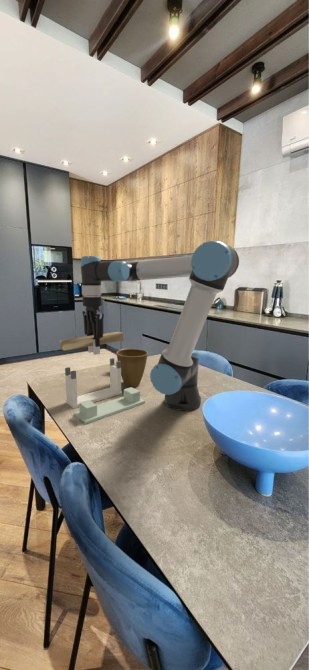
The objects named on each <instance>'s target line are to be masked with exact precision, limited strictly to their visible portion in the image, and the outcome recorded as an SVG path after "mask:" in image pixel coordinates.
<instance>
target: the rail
mask: <svg viewBox="0 0 309 670" xmlns="http://www.w3.org/2000/svg"><path fill="white" fill-rule="evenodd" d="M92 338H94V335H92V336H87V335H86V336H78V337H71V338H64V339H59V347H60V350H62V351H70V350H71V351H72V350H76V349H82V348H88V347H89V346H93V339H92ZM116 342H117V343H118V342H124V333H123V332H121V331H116V332H115V331H113V332H107V333H106V332H105V333H103V337H102V338H100V346H101V345H105V344H112V343H116Z"/></svg>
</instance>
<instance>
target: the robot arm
mask: <svg viewBox="0 0 309 670" xmlns="http://www.w3.org/2000/svg"><path fill="white" fill-rule="evenodd" d="M239 265H240V257H239V254H238V251H236V250H235V249H234V248H233V247H232V246H230V245H228V244H226V243H225V242H222V241H220V240H208V241H205V242H202V243H201V244H200V245H198V246H197V248H196V249H195V250H194V251H193V253H192V255H186V256H178V257H168V258H160V259H150V260H143V261H133V262H126V261H125V260H124V261H123V260H109V261H102V260H101V257H100V256H97V255H96V256H95V255H84V256H82V257H81V258H80V275H81V296H83V297H82V306H83V307H85V310H82V317H83V329H84V335H86V336H92V335H94V338H92V339H93V346H89V347H87V349H88V350H87V352H88V353H93V354H92V355H94V356H95V355H100V354H101V348H100V347H101V345H100V338H102V337H103V334H104V316H105V314H104V313H102V312H100V311H101V310H100V307H102V305H103V299H102V290H103V289H102V282H117V283H119V282H120V283H121V282H137V281H148V280H149V281H150V280H158V279H159V280H160V279H161V280H162V279H173V278H177V279H178V278H187V277H188V279H189V282H190V284H191V285H190V288H189V291H188V294H187V296H186V299H185V302H184V304H183V307H182V309H181V312H180V315H179V318H178V321H177V323H176V326H175V328H174V331H173V335H172V337H171V339H170V341H169V345H168V348H165V349H162V352H161V355H160V357H159V359H158V363H157V364H155V365H154V366H153V367H152V369H151V370H150V373H149V375H150V376H149V378H150V382H151V384H152V386H153V388H154V390H156V391H157V392H159V393H160V394H163V395H164V400H163V401H164V404H165V406H167V407H168V408H170V409H173V410H177V411H193V410H195V409H196V410H197V409H198V408H200V406H201V405H202V398H201V395H200V391H199V387H198V380H199V379H198V378H199V376H198V375H199V360H200V358H199V351H198V350H196V349H195V347H196V345H197V343H198V341H199V338H200V335H201V333H202V331H203V329H204V326H205V324H206V320H207V318H208V316H209V314H210V311H211V309H212V306H213V303H214V302H215V298H216V297H217V294H219V293H221V292H223V291H224V289H225V286H226V284H227V281H228V279H229V278H231V277H232V276H233V275H234V274H236V272H237V271H238V268H239Z"/></svg>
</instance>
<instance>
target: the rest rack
mask: <svg viewBox="0 0 309 670" xmlns="http://www.w3.org/2000/svg"><path fill="white" fill-rule="evenodd" d="M144 404H146V400H145V399H143V398H141V391H140V390H138V389H135V388H134V387H127V388H125V389H123V396H121V397H118V398H115V399H112V400H109V401H106V402H103V403H99V404H96V403H95V402H92V401H90V400H87V401H83V402H80V403H79V405H80V407H79V410H77V411H74V413H73V414H74V416H75V417H77V419H79V420H80V421H81V422H83V424H85V425H87V424H90V423H94V422H96V421H99V420H101V419H104V418H107V417H109V416H113V415H115V414H117V413H122V412H124V411H127V410H129V409H132V408H135V407H138V406H141V405H144Z"/></svg>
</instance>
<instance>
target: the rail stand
mask: <svg viewBox="0 0 309 670" xmlns="http://www.w3.org/2000/svg"><path fill="white" fill-rule="evenodd" d="M64 374H65V393H66V399H65V403H66V404H67V405H68V406H70V407H71V408H72V409H76V408H80V405H79V403H80V402H83V401H87V400H90V401H92V402H93V403H95V402H99V401H103V400H106V399H109V398H112V397H115V396H120V395H122V394H123V391H122V377H121V361H118V360H117V361H116V362H115V358H114V357H113V358H109V378H110V379H109V383H110V384H109V385H110V386H109V387H107V388H102V389H100V390H96V391H93V392H88V393H85V394H82V395H78V389H77V388H78V383H77V371H76V370H72V371H71V367H69V366H68V367H65V368H64Z"/></svg>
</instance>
